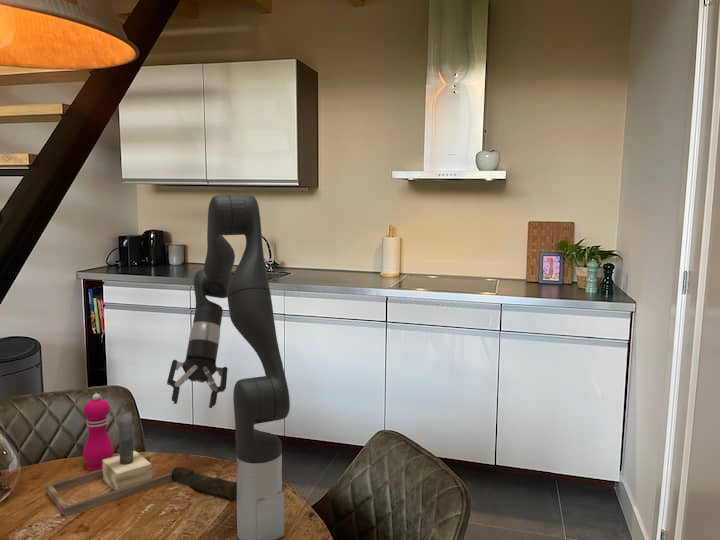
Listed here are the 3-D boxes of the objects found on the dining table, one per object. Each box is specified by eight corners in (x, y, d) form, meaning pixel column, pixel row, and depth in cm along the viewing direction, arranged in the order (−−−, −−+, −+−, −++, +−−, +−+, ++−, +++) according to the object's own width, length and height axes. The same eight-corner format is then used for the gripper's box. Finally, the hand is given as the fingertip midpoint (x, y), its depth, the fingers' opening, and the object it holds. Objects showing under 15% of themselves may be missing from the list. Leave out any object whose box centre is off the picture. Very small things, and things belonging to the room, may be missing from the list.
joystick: (153, 483, 138) (151, 415, 136) (118, 494, 132) (115, 424, 130) (136, 469, 145) (134, 404, 143) (102, 479, 140) (100, 412, 138)
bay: (171, 486, 139) (171, 474, 139) (65, 522, 123) (64, 509, 123) (148, 466, 149) (148, 455, 149) (46, 497, 133) (46, 485, 133)
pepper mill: (119, 463, 151) (117, 389, 149) (104, 476, 144) (101, 399, 141) (93, 462, 152) (90, 388, 149) (77, 474, 144) (74, 397, 142)
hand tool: (241, 495, 135) (241, 476, 135) (231, 503, 132) (231, 484, 131) (179, 479, 143) (178, 461, 143) (167, 486, 140) (167, 468, 139)
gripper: (176, 334, 143) (164, 399, 136) (233, 342, 147) (224, 406, 140) (174, 342, 149) (162, 404, 142) (229, 350, 153) (220, 411, 147)
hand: (193, 405), depth 141 cm, fingers open, 8 cm apart
